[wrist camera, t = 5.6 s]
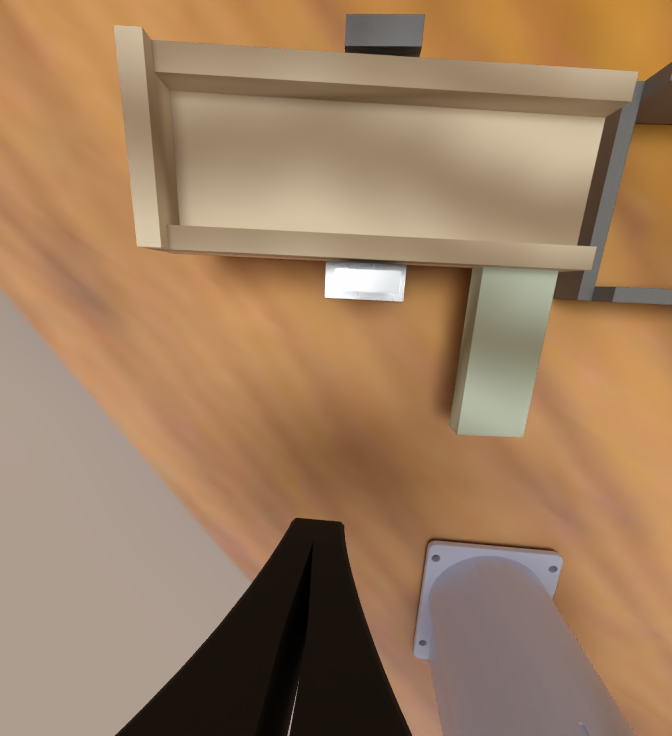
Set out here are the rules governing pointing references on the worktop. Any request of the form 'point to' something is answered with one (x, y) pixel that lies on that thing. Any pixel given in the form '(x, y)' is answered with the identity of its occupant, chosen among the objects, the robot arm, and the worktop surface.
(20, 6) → the worktop surface
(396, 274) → the pivot stand
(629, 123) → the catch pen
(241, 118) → the lever
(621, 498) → the worktop surface
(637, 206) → the worktop surface
